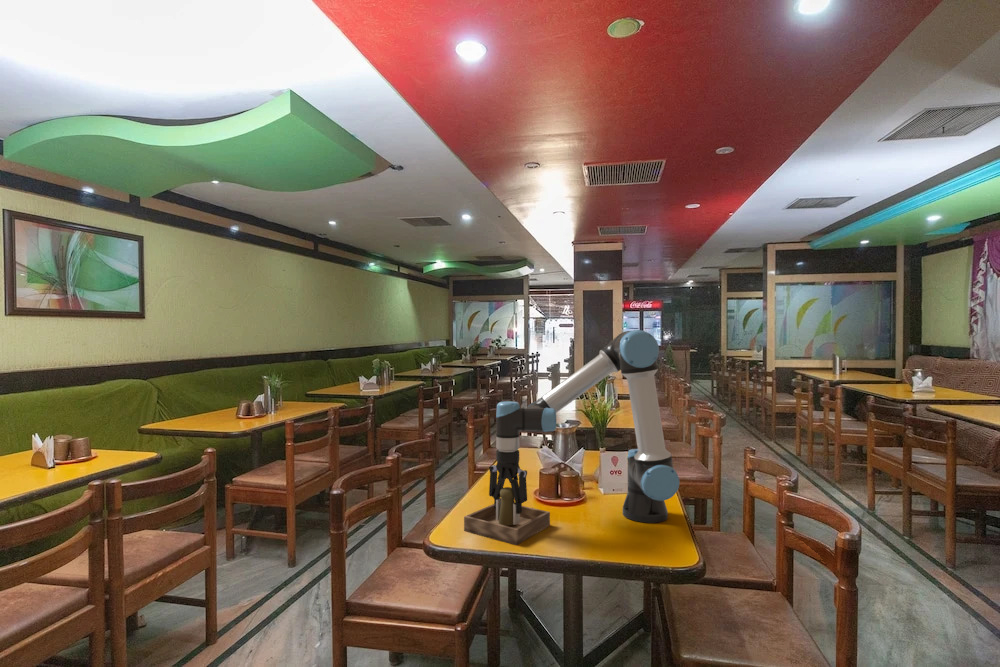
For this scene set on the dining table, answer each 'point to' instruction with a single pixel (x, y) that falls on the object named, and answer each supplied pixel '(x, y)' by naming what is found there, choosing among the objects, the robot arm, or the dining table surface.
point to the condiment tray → (489, 527)
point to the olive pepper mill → (506, 506)
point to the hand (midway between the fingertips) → (507, 521)
